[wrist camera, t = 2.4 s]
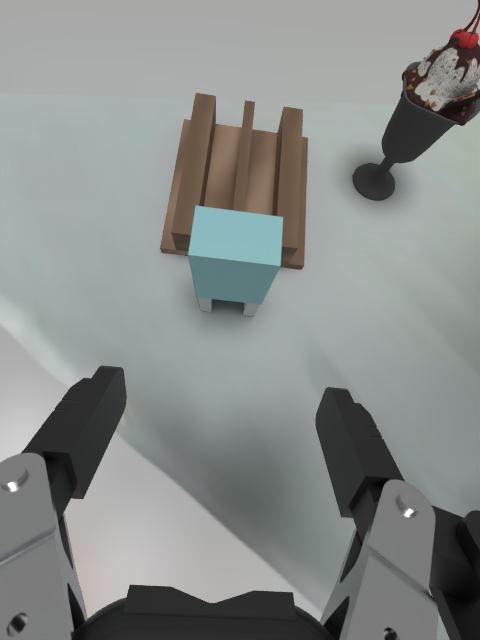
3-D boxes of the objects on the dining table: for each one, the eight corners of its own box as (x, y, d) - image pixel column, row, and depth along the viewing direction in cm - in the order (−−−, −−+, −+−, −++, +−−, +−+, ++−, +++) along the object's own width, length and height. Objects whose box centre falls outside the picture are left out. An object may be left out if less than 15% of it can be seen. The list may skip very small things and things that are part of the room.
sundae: (355, 149, 33) (466, -45, 18) (407, 173, 32) (562, -5, 18) (336, 190, 31) (443, 12, 16) (392, 216, 31) (550, 57, 16)
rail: (305, 143, 32) (317, 111, 28) (301, 269, 28) (314, 250, 24) (184, 125, 31) (180, 90, 28) (161, 252, 27) (153, 230, 23)
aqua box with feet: (256, 286, 27) (283, 217, 16) (254, 317, 26) (280, 265, 16) (203, 280, 27) (195, 205, 16) (199, 311, 26) (188, 254, 15)
